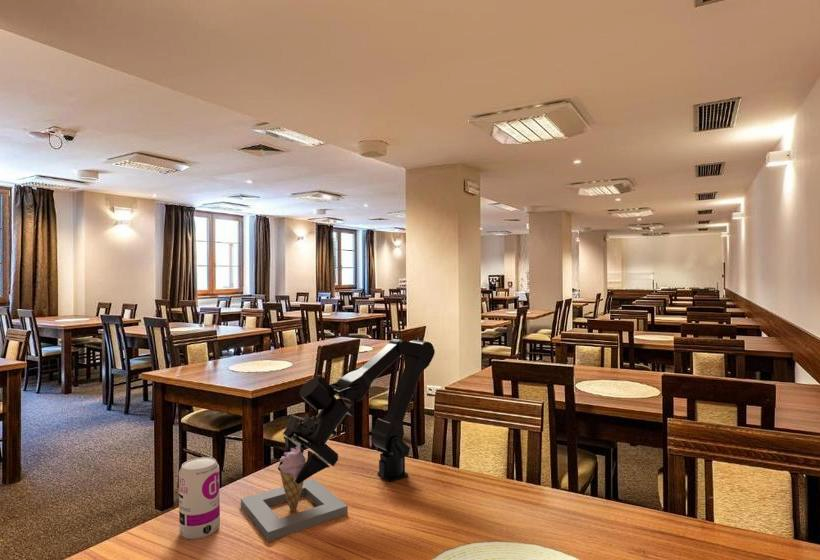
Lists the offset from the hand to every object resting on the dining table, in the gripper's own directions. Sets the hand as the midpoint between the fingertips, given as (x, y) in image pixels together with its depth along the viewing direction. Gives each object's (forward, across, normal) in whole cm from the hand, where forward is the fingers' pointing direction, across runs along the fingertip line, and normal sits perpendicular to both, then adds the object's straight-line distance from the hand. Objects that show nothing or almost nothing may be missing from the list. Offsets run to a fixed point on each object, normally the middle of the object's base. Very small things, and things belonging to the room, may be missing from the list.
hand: (287, 476), depth 114 cm
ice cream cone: (+5, 0, +7) cm, 9 cm away
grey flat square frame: (+5, 0, +7) cm, 9 cm away
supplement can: (+19, -5, -7) cm, 21 cm away
